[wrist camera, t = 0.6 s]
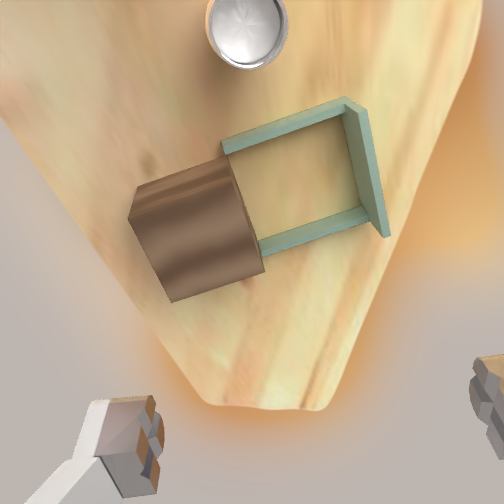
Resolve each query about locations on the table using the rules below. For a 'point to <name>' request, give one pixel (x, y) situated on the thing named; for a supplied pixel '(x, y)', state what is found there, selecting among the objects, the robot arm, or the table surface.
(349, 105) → the green bay
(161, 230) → the walnut block
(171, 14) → the table surface
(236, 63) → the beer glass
